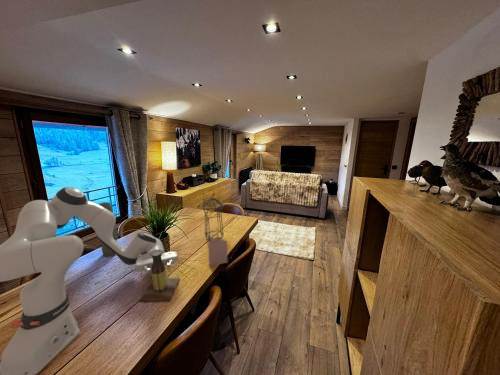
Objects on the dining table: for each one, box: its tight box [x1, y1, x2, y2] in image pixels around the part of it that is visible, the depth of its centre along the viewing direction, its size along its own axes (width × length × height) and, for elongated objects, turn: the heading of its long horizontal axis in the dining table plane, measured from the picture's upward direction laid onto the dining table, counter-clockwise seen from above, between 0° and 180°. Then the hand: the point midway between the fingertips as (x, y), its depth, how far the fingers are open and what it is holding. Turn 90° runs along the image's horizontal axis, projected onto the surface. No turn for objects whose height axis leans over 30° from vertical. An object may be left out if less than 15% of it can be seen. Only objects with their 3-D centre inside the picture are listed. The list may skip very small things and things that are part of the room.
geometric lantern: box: [200, 197, 226, 243], centre depth 148 cm, size 16×16×35 cm
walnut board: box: [139, 277, 180, 303], centre depth 99 cm, size 15×14×1 cm
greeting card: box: [208, 237, 228, 266], centre depth 121 cm, size 11×7×15 cm, turn 74°
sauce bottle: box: [150, 252, 167, 293], centre depth 96 cm, size 6×6×20 cm
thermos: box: [98, 202, 118, 258], centre depth 127 cm, size 9×12×35 cm
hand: (159, 269), depth 97 cm, fingers open, 8 cm apart
